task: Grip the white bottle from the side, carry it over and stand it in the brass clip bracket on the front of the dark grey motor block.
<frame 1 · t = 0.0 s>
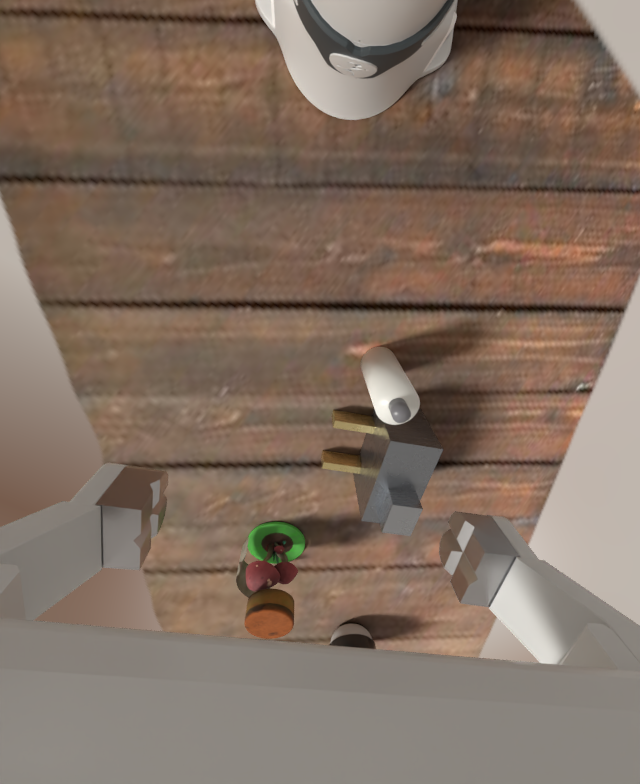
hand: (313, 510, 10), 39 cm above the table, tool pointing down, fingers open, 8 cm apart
white bottle: (378, 363, 50), on the table
dark grey egg shape: (349, 629, 81), on the table
mushroom figurine: (274, 539, 67), on the table
motor: (385, 443, 57), on the table
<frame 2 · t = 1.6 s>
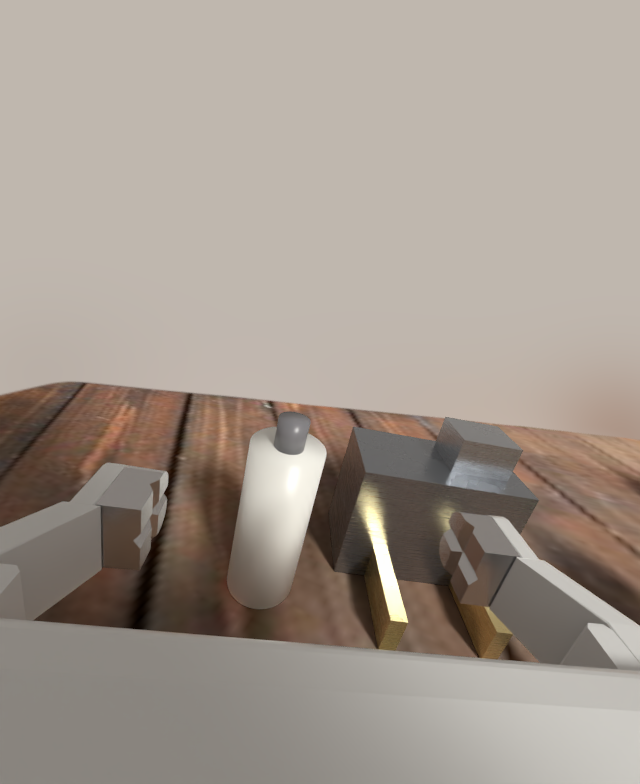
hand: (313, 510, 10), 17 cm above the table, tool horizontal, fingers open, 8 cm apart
white bottle: (260, 578, 28), on the table
motor: (403, 549, 34), on the table
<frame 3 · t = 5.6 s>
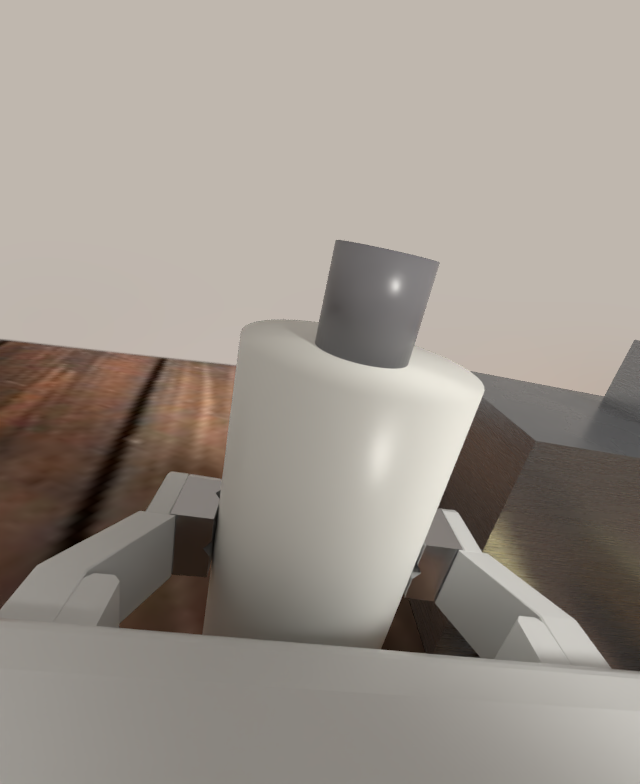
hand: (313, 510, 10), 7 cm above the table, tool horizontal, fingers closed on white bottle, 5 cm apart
white bottle: (272, 697, 12), on the table, touching gripper
motor: (536, 598, 18), on the table
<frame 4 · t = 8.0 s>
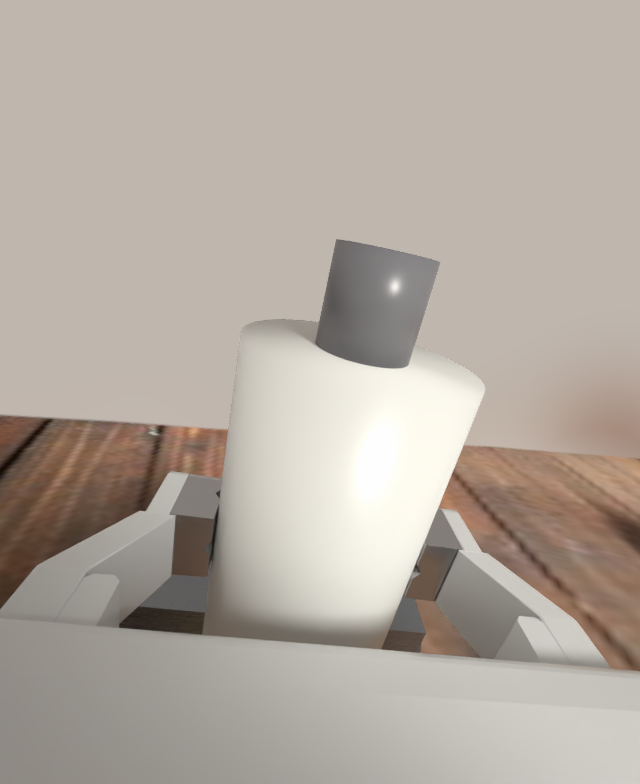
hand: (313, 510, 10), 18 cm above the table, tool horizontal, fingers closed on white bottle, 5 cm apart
white bottle: (272, 697, 12), point 11 cm above the table, touching gripper
motor: (250, 673, 22), on the table
when the fingers open (8 cm above the table, at t = 10.2 s): white bottle drops 1 cm, on the table.
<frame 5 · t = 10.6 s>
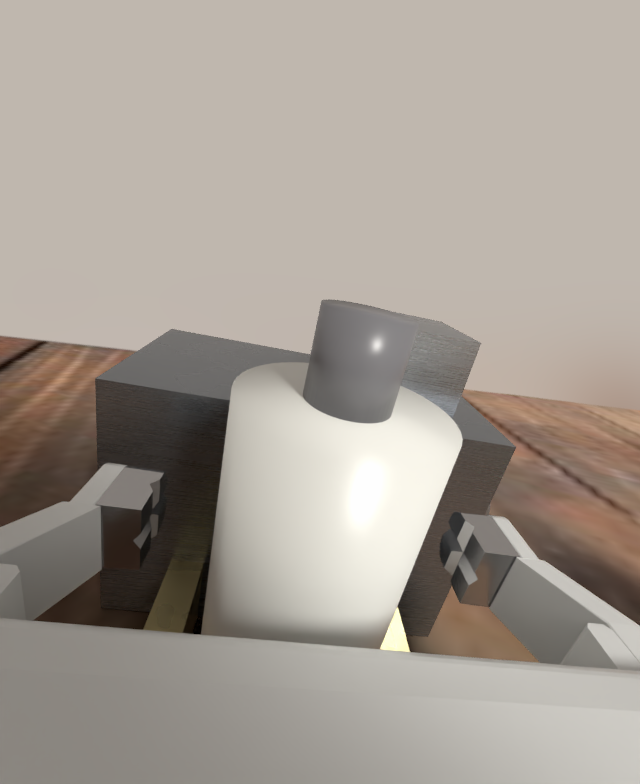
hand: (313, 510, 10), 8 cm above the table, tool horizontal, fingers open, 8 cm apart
white bottle: (266, 718, 12), on the table
motor: (278, 557, 19), on the table
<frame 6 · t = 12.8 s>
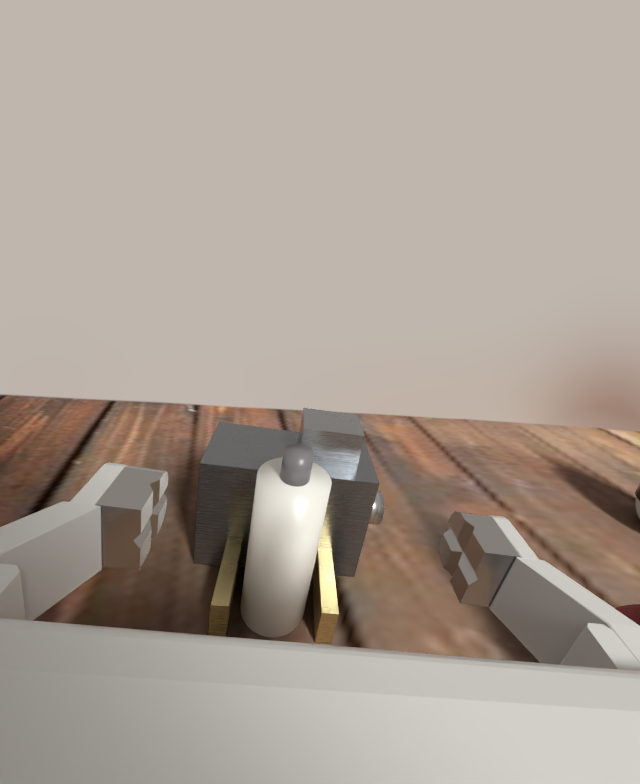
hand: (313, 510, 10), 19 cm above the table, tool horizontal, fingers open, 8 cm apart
white bottle: (272, 605, 28), on the table
mushroom figurine: (633, 731, 24), on the table
motor: (278, 540, 34), on the table
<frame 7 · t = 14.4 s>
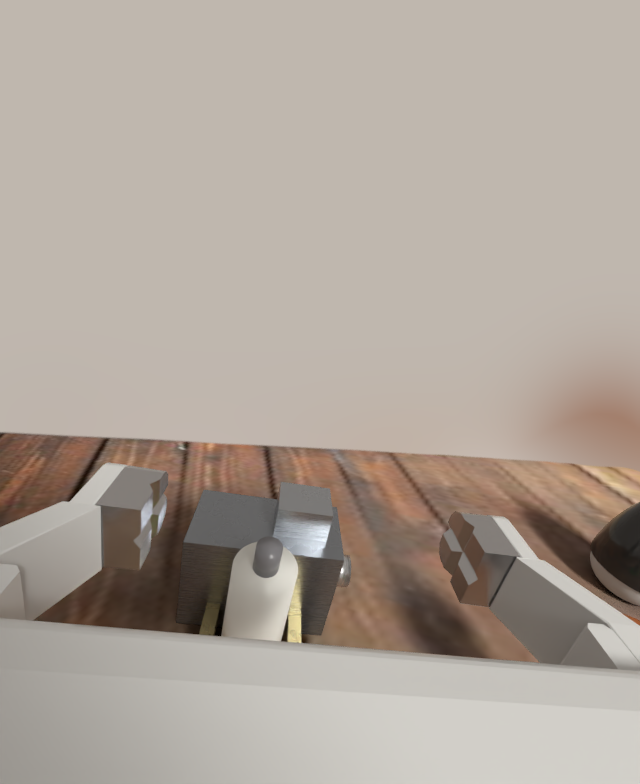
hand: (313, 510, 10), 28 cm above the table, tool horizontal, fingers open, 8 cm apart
white bottle: (245, 666, 32), on the table
dark grey egg shape: (619, 588, 51), on the table
motor: (254, 596, 38), on the table
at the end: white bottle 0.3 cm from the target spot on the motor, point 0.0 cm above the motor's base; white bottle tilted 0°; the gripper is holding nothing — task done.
